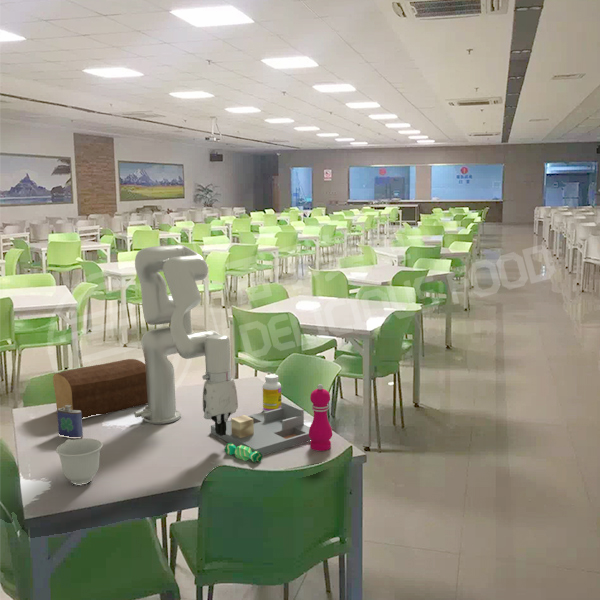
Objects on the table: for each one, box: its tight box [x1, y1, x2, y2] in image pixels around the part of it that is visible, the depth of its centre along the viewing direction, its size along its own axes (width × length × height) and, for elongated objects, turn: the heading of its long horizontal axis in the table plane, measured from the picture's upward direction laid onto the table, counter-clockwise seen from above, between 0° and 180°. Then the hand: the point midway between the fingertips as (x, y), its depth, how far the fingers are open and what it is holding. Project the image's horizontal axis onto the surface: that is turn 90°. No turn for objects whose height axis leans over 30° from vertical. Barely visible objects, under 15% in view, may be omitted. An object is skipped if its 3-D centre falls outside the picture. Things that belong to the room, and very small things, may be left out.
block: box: [230, 414, 254, 438], centre depth 210 cm, size 5×5×5 cm
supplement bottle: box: [262, 373, 282, 412], centre depth 238 cm, size 7×7×13 cm
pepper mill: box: [309, 383, 333, 452], centre depth 203 cm, size 7×7×20 cm
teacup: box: [55, 438, 103, 484], centre depth 184 cm, size 12×15×10 cm
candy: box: [224, 442, 264, 464], centre depth 198 cm, size 12×3×4 cm
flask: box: [56, 405, 84, 438], centre depth 215 cm, size 9×3×11 cm, turn 68°
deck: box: [210, 401, 311, 456], centre depth 215 cm, size 24×26×8 cm
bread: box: [52, 358, 148, 418], centre depth 244 cm, size 18×30×16 cm, turn 130°
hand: (221, 434), depth 205 cm, fingers closed
